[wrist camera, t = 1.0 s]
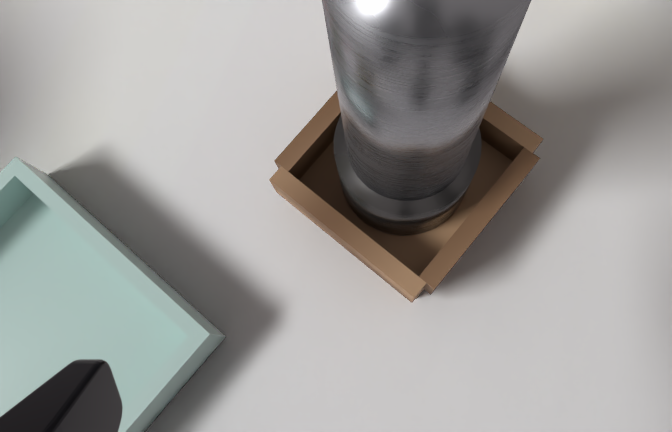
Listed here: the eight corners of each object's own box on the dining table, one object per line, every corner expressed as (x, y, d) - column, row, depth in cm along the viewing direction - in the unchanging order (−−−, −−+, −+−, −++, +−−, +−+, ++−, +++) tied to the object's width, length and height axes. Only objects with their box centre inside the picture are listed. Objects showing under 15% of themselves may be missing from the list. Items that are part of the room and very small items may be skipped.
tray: (225, 336, 21) (209, 333, 19) (31, 562, 20) (-7, 584, 18) (46, 173, 23) (15, 156, 21) (-140, 369, 22) (-192, 370, 20)
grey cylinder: (493, 164, 21) (637, -94, 9) (413, 262, 20) (456, 121, 8) (393, 91, 22) (407, -228, 10) (314, 182, 21) (229, -44, 9)
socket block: (532, 168, 21) (551, 144, 19) (417, 311, 21) (422, 304, 18) (388, 66, 23) (390, 31, 20) (275, 195, 22) (262, 174, 20)
